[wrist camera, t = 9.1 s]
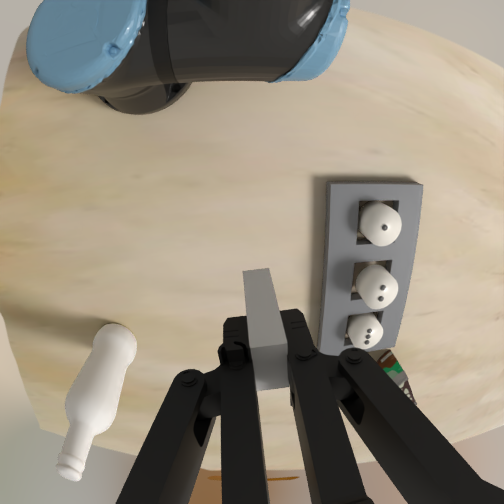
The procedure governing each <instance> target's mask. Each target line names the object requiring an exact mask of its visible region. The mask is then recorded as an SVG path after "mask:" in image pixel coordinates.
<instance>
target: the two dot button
mask: <svg viewBox="0 0 504 504" xmlns="http://www.w3.org/2000/svg"><path fill="white" fill-rule="evenodd" d="M355 285H356V290H357V292H358V293H359V295H360V296H361V297H362V299H363V300H364V302H365V303H366V305H367V306H368V307H370V308H372V309H382V308H384V307H386V306H388V305H389V304H390V303H391V302H392V301H393V300H394V299H395V297H396V295H397V293H398V283H397V281H396V280H395V279H394V277H393V276H392V275H391V274H390V273H389V272H388V271H387V270H386V269H385V268H384V267H383V266H381V265H377V264H374V265H370V266H367V267H366V268H364V269H363V270H362V271H361V272H360V273H359V275H358V276H357V279H356V284H355Z"/></svg>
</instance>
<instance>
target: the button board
mask: <svg viewBox="0 0 504 504" xmlns="http://www.w3.org/2000/svg"><path fill="white" fill-rule="evenodd" d="M422 195H423V185H422V184H419V183H417V182H327V194H326V229H325V252H324V270H323V285H322V299H321V312H320V323H319V334H318V344H317V349H318V350H319V352H321V353H323V354H326V355H335V356H339V355H340V353H341V352H342V351H343V350H345V349H347V348H352V347H353V348H356V347H354V345H353V343H352V341H351V339H350V338H348V339H345V333H346V327H347V320H348V315H355V314H363V313H370V312H377V311H378V315H377V320H378V321H379V323H380V324H381V326H382V328H383V335H382V338H381V339H380V341H379V342H378V343H377V344H376V345H374V346H373V347H371V348H368V349H363V350H365V351H366V352H369V351H375V350H380V349H386V348H391V347H395V344H396V340H397V336H398V332H399V328H400V324H401V320H402V316H403V312H404V308H405V303H406V299H407V294H408V289H409V284H410V279H411V274H412V269H413V263H414V257H415V251H416V244H417V238H418V230H419V223H420V214H421V205H422ZM374 200H393V207H392V209H394V210H395V211H396V212H397V213H398V214H399V216H400V218H401V223H402V226H401V231H400V234H399V235H398V237H397V238H396V240H395V241H394V242H392V243H391V244H389V245H387V246H376V245H374V244H373V243H372V242H371V241H369V240H368V239H367V240H357V226H358V211H359V201H374ZM382 260H387V261H386V268H385V269H386V270H387V271H388V272H389V273H390V274H391V275H392V276H393V277H394V279H395V280H396V281H397V283H398V293H397V295H396V297H395V299H394V300H393V301H392V302H391V303H390V304H389V305H388V306H386V307H384V308H382V309H372V308H370V307H368V306H367V305H366V303H365V302H364V300H363V299H362V297H361V296H360V295H359V293H357V294H351V290H352V281H353V272H354V263H358V262H370V261H382Z"/></svg>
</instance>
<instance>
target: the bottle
mask: <svg viewBox="0 0 504 504" xmlns="http://www.w3.org/2000/svg"><path fill="white" fill-rule="evenodd" d="M136 349H137V342H136V339H135V337H134V335H133V333H132V332H131V331H130V330H129V329H127V328H126V327H124V326H122V325H119V324H114V323H111V324H106V325H104V326H103V327H102V328H101V329H100V330H99V331H98V332H97V334H96V336H95V338H94V340H93V349H92V352H91V354H90V355H89V357H88V359H87V360H86V362H85V364H84V365H83V367H82V369H81V370H80V372H79V374H78V376H77V377H76V379H75V381H74V383H73V384H72V386H71V388H70V390H69V392H68V394H67V397H66V401H65V411H66V415H67V418H68V420H69V422H70V427H69V429H68V432H67V435H66V438H65V441H64V444H63V447H62V451H61V453H60V454H59V455H58V464H57V465H56V469H57V472H58V473H59V474H60V475H61V476H63V477H64V478H66V479H69V480H72V481H79V480H80V479H81V477H82V475H81V473H82V472H83V471H84V468H85V461H86V458H87V455H88V452H89V449H90V446H91V443H92V440H93V437H94V436H95V435H97V434H100V433H102V432H104V431H105V430H107V429H108V428H109V427H110V426H111V424H112V422H113V420H114V418H115V415H116V411H117V406H118V402H119V397H120V393H121V389H122V385H123V381H124V376H125V372H126V369H127V367H128V365H130V364H131V363H132V361H133V359H134V357H135V354H136Z"/></svg>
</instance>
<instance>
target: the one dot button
mask: <svg viewBox="0 0 504 504" xmlns="http://www.w3.org/2000/svg"><path fill="white" fill-rule="evenodd" d="M401 226H402V223H401V218H400V216H399V214H398V213H397V212H396V211H395V210H394V209H392V208H390V207H389V206H387V205H385V204H384V203H382V202H379V201H371V202H368V203H366V204H365V205H364V206H363V207H362V208H361V209H360V211H359V213H358V226H357V227H358V229H359V231H360V232H361V233H362V234H363V235H364V236H365V237H366V238H367V239H368V240H369V241H371V242H372V243H373V244H374V245H376V246H387V245H389V244H391V243H392V242H394V241H395V240H396V238H397V237H398V235H399V234H400V231H401Z"/></svg>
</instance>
